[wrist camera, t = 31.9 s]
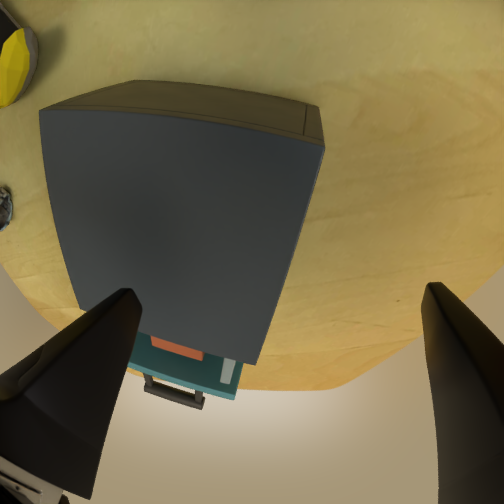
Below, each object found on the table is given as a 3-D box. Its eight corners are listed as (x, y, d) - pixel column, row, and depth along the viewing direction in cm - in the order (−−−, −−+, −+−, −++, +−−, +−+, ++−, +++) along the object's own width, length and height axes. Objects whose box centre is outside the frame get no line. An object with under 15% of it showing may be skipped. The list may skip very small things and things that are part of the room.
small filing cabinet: (274, 272, 25) (255, 366, 18) (135, 236, 25) (79, 309, 18) (319, 106, 16) (326, 147, 9) (134, 79, 17) (38, 110, 10)
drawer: (243, 359, 32) (228, 419, 26) (147, 331, 33) (121, 384, 27) (277, 234, 22) (260, 313, 16) (133, 200, 22) (77, 259, 16)
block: (170, 308, 27) (151, 345, 24) (168, 273, 24) (146, 312, 21) (216, 321, 27) (201, 361, 23) (220, 287, 24) (204, 330, 21)
